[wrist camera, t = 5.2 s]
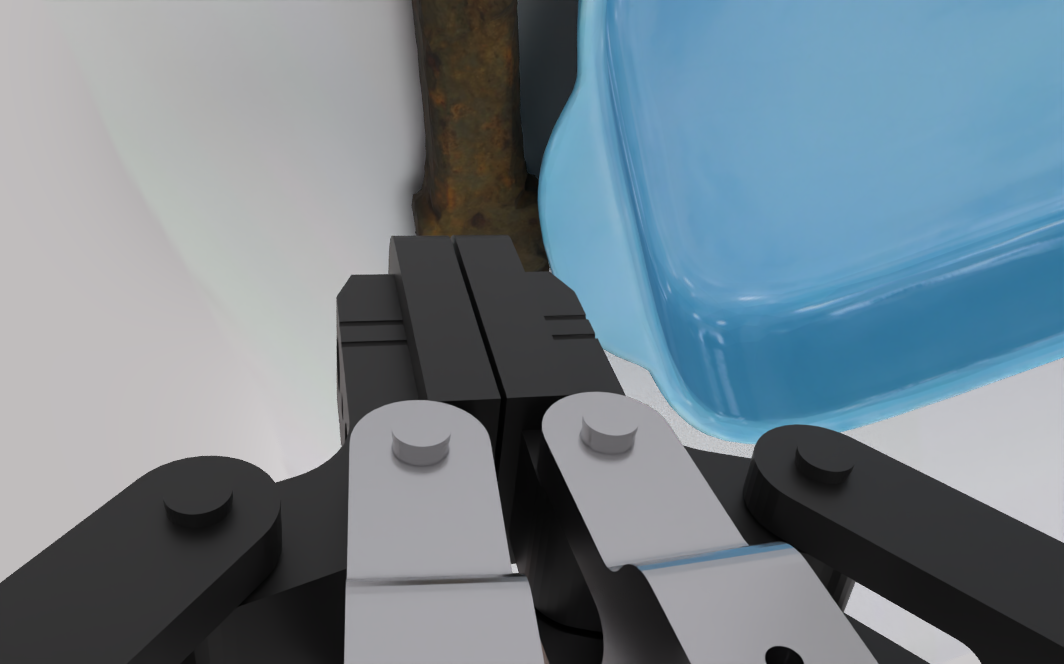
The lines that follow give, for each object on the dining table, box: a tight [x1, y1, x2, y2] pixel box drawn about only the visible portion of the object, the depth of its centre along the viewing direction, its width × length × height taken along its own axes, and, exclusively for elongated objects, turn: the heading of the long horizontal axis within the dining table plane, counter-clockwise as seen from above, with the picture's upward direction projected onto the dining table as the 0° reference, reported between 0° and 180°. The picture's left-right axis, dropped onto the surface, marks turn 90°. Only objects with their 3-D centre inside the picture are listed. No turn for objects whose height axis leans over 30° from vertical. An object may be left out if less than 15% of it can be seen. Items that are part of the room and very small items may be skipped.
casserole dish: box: [538, 0, 1064, 444], centre depth 32 cm, size 37×22×7 cm, turn 105°
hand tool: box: [412, 0, 549, 272], centre depth 31 cm, size 19×4×5 cm
